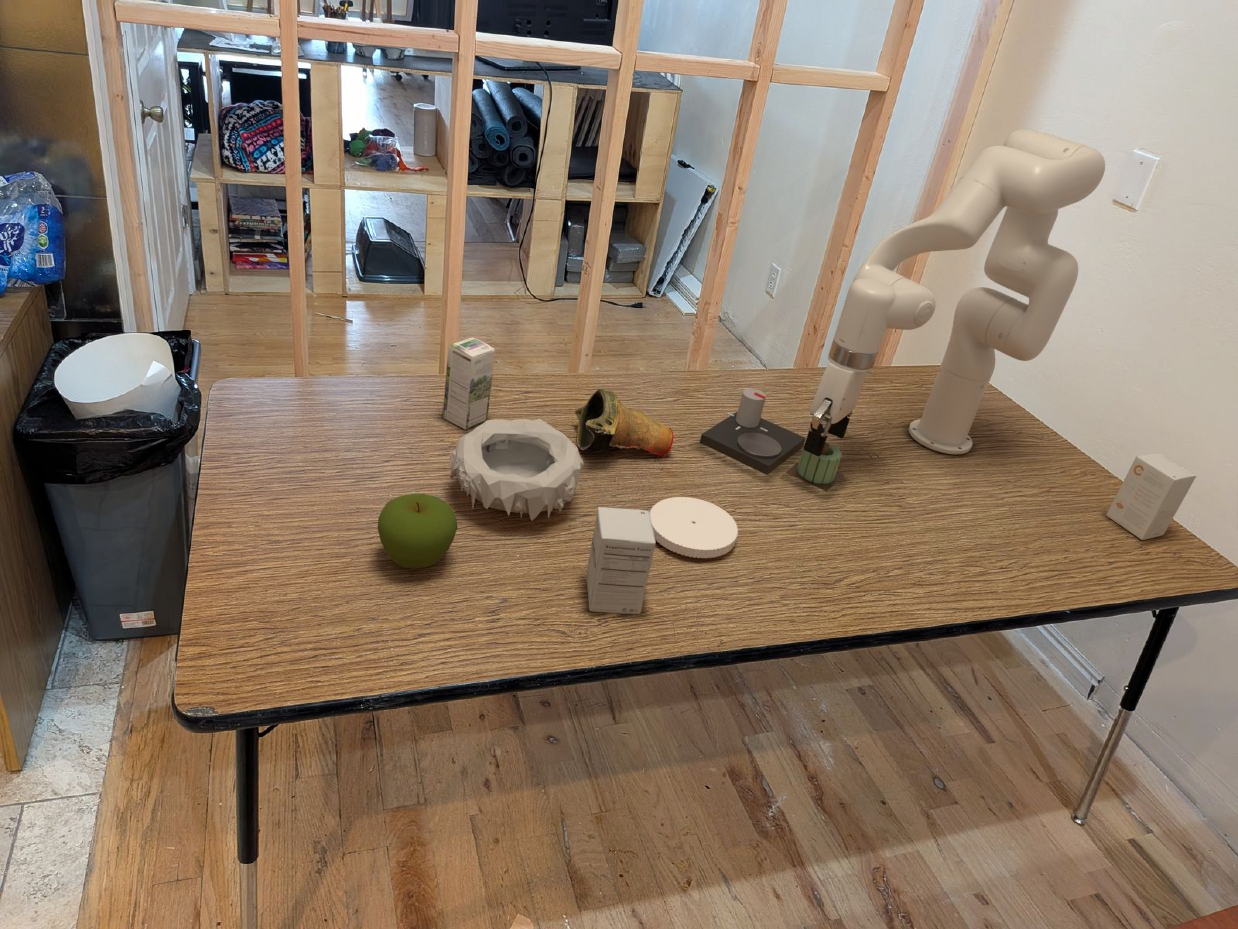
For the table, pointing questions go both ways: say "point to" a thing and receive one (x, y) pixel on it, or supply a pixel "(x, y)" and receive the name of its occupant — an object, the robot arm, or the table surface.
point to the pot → (619, 427)
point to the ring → (820, 465)
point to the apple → (416, 529)
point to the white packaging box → (619, 560)
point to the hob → (729, 431)
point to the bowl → (517, 466)
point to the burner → (759, 445)
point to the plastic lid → (693, 527)
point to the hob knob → (750, 408)
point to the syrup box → (468, 382)
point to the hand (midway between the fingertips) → (823, 443)
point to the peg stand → (824, 487)
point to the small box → (1150, 495)
